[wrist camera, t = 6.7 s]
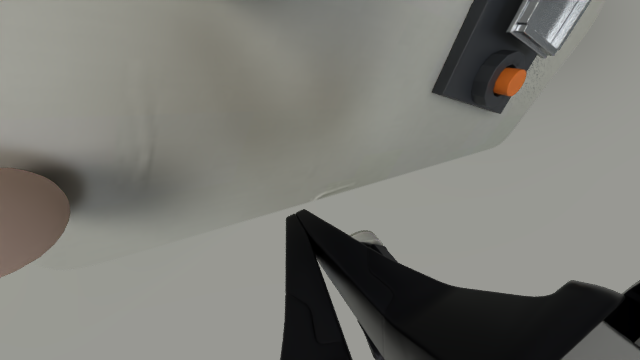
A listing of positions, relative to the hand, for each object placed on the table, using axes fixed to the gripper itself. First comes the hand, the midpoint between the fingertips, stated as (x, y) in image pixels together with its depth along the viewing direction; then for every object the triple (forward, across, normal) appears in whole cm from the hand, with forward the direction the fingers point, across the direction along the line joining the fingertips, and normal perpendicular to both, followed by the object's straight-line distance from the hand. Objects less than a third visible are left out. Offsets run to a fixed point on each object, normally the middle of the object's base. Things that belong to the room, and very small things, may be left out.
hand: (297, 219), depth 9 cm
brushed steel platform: (+8, -30, -3) cm, 31 cm away
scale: (+11, -29, 0) cm, 31 cm away
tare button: (+8, -27, +4) cm, 28 cm away
